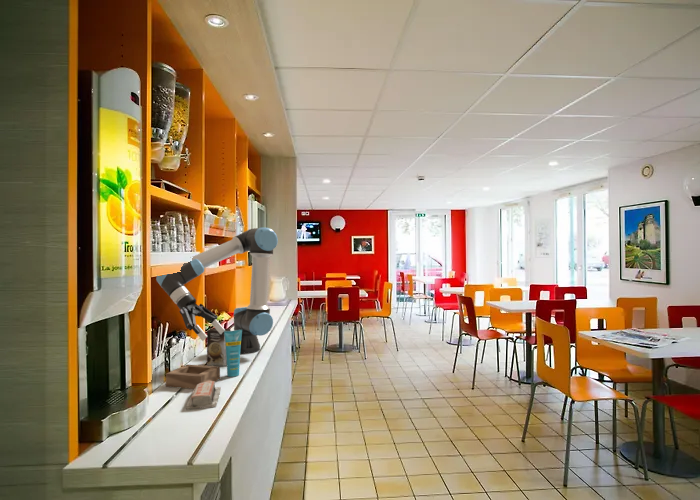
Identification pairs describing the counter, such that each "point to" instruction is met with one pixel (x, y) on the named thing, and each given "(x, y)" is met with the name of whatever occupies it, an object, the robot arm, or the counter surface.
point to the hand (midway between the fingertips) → (214, 335)
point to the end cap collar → (192, 376)
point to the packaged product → (204, 396)
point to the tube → (233, 351)
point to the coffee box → (216, 348)
